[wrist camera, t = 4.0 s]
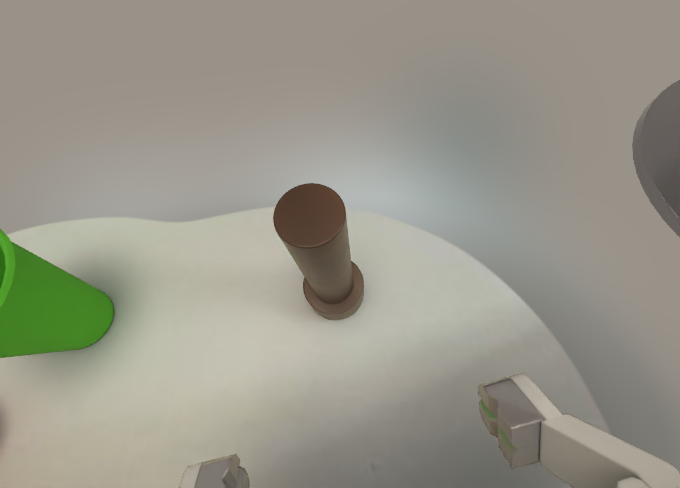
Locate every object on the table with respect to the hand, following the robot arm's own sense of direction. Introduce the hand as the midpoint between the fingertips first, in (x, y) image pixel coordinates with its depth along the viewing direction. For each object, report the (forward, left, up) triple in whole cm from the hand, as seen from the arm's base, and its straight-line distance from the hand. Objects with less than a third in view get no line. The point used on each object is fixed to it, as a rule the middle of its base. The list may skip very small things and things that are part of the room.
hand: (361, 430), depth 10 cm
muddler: (-1, -8, -15) cm, 17 cm away
